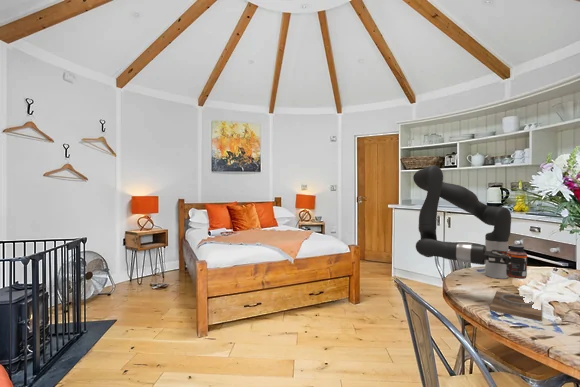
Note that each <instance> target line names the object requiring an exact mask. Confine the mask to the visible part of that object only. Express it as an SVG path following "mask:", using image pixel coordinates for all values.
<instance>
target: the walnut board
mask: <svg viewBox="0 0 580 387" xmlns="http://www.w3.org/2000/svg"><path fill="white" fill-rule="evenodd" d="M520 295H521V294H518V293H511V292H506V291H505V292H504V291H499V290H496V291H495V293H494V296H493V298H492V301H491V303H490V305H489V311H491V310H492V312H497V313H501V314H502V313H503V314H507V315H510V316H511V315H512V316H515V317H522V318H527V319H531V320H536V321H541V322H542V320H543V319H542V316H543V315H542V311H543V309H542V310H538V309H534V308H532V305H533V304H534V302H532V301H531V302H529V303H525V302H524V300H523V298H525V297H523V296H520Z"/></svg>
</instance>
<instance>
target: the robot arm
mask: <svg viewBox="0 0 580 387" xmlns="http://www.w3.org/2000/svg"><path fill="white" fill-rule="evenodd" d="M412 177H413V179H412V180H413V182H414V184H415V185H416V186H417V188H419V189H422V190H423V191H426V193H427V194H426V196H425V200H424V201H423V204H422V206H421V208H420V211H419V216H418V233H419V234H420V239H419V240H417V242H416V243H415V250H416V252H417V253H419V255H421V256H424V257H425V258H433V257H439V258H442V259H445V260H451V261H459V262H461V263H468V264H475V265H482V266H484V273H485V274H484V275H485V276H486V277H489V278H492V279H501V280H502V279H508V278H509V276H507V275H506V265H508V264H511V263H513V264H520V265H524V264H525V259H524V258H518V257H512V258H511V256H507V251H509V239H510V236H511V230H512V229H511V228H512V227H511V226H512V214H511V211H510V210H509V209H508V208H506V207H505V206H504V207H502V206H493V205H492V206H490V205H487V204H485V203H483V202H481V201H480V200H479V198H478V196H477V194H475V193H474V191H471V190H470V189H469V188H466V187H465V186H462V185H459V184H454V183H449V182H445V181H444V172H443V170H442V169H441V168H440V167H439V166H438V165H431V166H426V167H424V168H421V169H419V170H416V171H415V173H414V174H413V176H412ZM440 199H443V200H445V201H447V202H449V203H450V204H452V205H453V206H455V207H456V208H459V209H460V210H463V211H465V212H467V213H469V214H471V215H472V216H474V217H476V218H477V219H478V220H480V221H481V222H482V223H484V224H486V225H488V226H492V227H493V230H492V231H491V232H487V233H485V240H484V241H485V243H484V244H478V243H468V242H455V241H453V242H451V241H443V240H438V237H437V225H438V224H437V216H438V207H439V203H440Z"/></svg>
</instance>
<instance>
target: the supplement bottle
mask: <svg viewBox="0 0 580 387" xmlns="http://www.w3.org/2000/svg"><path fill="white" fill-rule="evenodd" d="M507 256H511V258H512V257H518V258H524V259H525V264H524V265H520V264H513V263H511V264H508V265H506V275H507V276H508V278H512V279H517V280H518V279H519V280H523V279H527V277H528V276H527V274H528V254H527V252H526V251H525V246H524V245H521V244H509V249H508V251H507Z"/></svg>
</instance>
